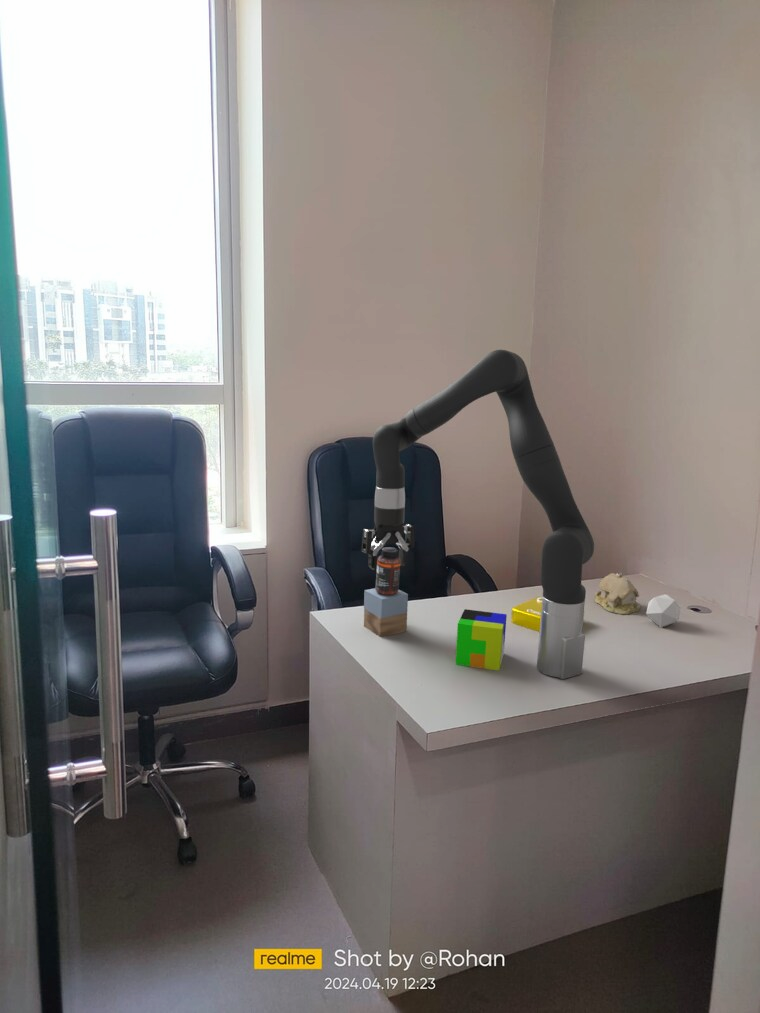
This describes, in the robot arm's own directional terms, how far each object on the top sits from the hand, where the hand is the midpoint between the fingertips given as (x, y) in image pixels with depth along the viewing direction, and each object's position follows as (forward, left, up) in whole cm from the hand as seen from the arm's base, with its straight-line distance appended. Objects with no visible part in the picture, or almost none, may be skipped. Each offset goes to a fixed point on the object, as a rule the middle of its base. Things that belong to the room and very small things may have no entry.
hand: (387, 567), depth 183 cm
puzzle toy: (-26, -10, -17) cm, 33 cm away
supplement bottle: (0, 0, -7) cm, 7 cm away
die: (-31, -69, -17) cm, 78 cm away
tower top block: (0, 0, -12) cm, 12 cm away
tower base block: (0, 0, -17) cm, 17 cm away
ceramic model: (-15, -69, -17) cm, 73 cm away
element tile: (-16, -41, -17) cm, 47 cm away
